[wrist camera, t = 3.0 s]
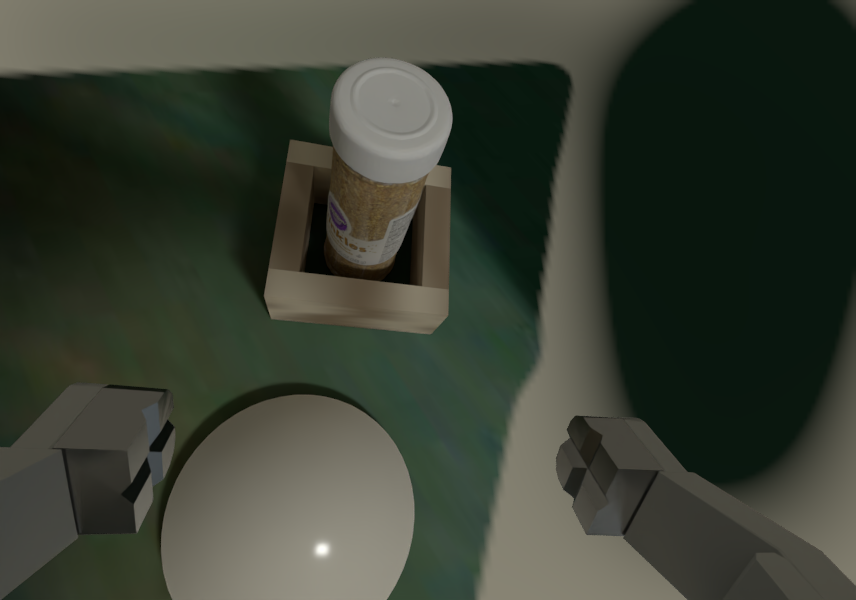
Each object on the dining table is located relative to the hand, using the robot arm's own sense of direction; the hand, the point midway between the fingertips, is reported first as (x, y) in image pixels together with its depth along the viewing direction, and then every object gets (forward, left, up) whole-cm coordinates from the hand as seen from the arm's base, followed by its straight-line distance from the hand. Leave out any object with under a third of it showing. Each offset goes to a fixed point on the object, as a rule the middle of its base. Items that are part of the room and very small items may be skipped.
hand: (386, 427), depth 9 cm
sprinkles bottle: (0, +12, -17) cm, 21 cm away
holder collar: (0, +12, -17) cm, 20 cm away
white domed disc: (-2, -3, -17) cm, 17 cm away
